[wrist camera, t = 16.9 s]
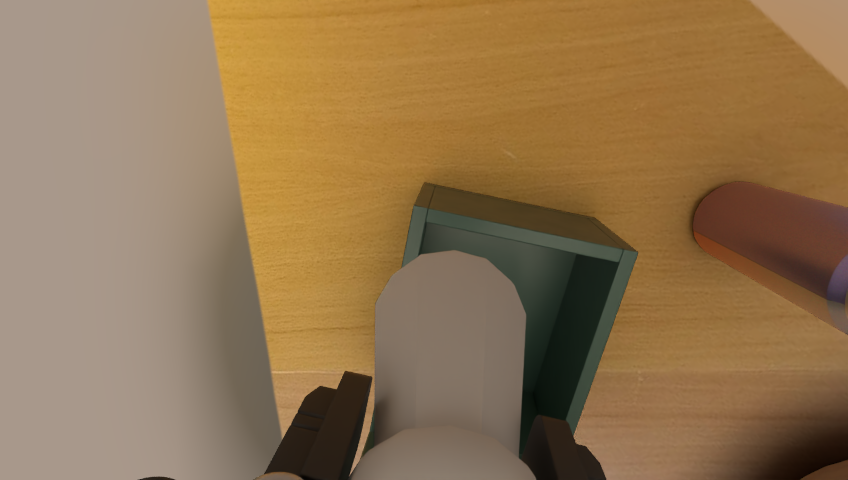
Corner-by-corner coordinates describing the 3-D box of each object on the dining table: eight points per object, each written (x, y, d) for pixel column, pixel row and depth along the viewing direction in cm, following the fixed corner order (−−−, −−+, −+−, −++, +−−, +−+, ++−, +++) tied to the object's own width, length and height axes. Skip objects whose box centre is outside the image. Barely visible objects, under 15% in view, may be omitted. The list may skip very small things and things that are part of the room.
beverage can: (685, 190, 34) (845, 249, 20) (768, 172, 34) (998, 220, 19) (691, 262, 36) (846, 364, 22) (772, 246, 35) (987, 342, 21)
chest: (424, 182, 36) (413, 205, 27) (595, 217, 36) (639, 252, 27) (388, 364, 41) (369, 432, 32) (539, 396, 40) (560, 473, 32)
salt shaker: (357, 301, 20) (192, 612, 8) (444, 206, 19) (415, 398, 6) (455, 382, 21) (451, 785, 8) (545, 297, 19) (705, 631, 7)
